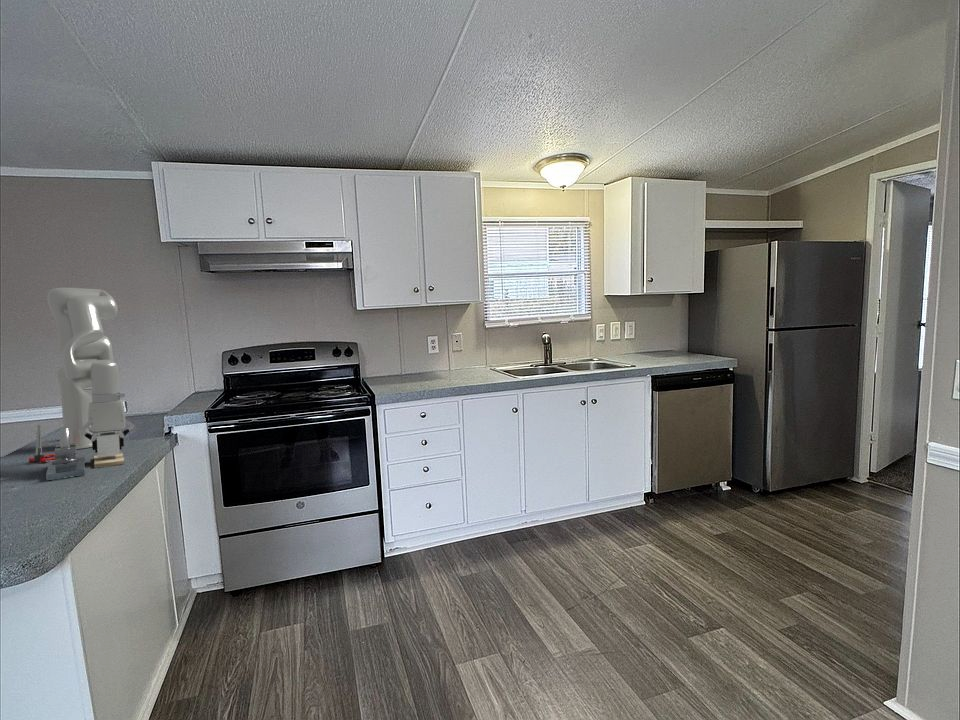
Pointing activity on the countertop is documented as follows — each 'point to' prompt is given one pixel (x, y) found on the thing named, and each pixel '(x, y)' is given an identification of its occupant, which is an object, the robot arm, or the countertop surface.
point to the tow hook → (40, 450)
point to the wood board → (108, 460)
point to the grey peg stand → (65, 459)
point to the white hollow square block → (108, 444)
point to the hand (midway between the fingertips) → (108, 449)
